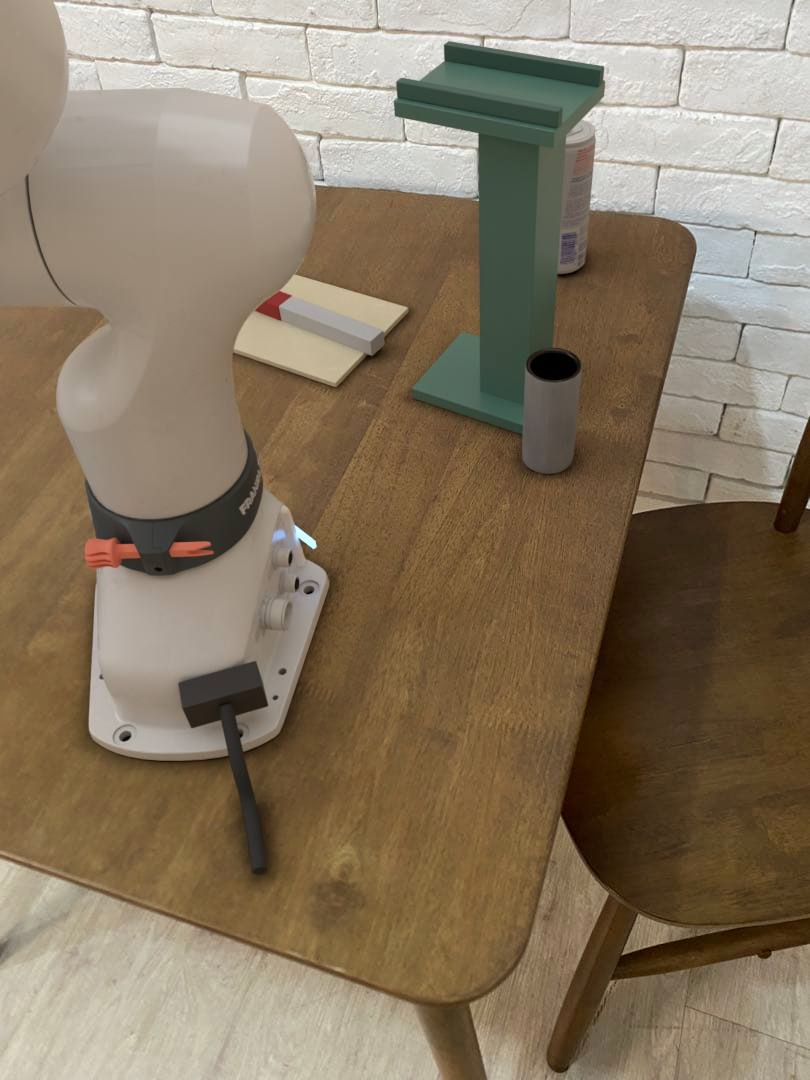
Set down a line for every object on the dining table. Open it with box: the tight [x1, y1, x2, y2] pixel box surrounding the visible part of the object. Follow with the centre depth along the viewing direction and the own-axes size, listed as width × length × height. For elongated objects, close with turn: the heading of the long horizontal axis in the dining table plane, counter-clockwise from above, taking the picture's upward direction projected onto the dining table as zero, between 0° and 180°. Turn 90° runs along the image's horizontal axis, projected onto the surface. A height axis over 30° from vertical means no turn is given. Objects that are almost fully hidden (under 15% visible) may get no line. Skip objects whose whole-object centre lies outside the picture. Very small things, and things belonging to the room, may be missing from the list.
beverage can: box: [557, 119, 597, 275], centre depth 98 cm, size 6×6×15 cm
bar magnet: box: [255, 291, 385, 357], centre depth 98 cm, size 21×2×2 cm, turn 55°
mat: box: [233, 273, 409, 388], centre depth 100 cm, size 24×14×1 cm, turn 59°
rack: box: [393, 40, 606, 436], centre depth 79 cm, size 13×10×29 cm
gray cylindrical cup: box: [521, 347, 583, 475], centre depth 79 cm, size 4×4×10 cm
